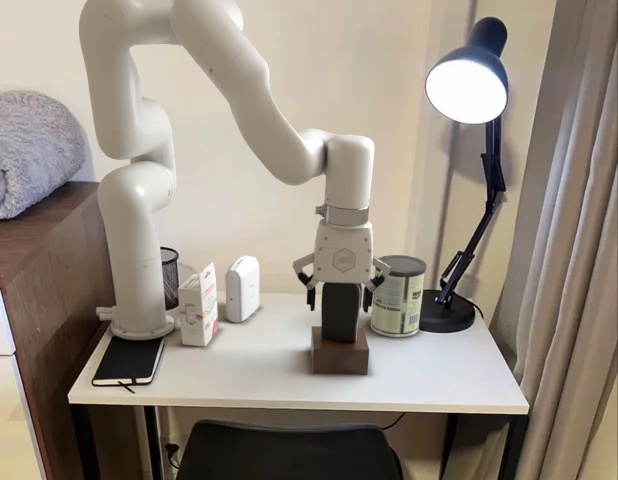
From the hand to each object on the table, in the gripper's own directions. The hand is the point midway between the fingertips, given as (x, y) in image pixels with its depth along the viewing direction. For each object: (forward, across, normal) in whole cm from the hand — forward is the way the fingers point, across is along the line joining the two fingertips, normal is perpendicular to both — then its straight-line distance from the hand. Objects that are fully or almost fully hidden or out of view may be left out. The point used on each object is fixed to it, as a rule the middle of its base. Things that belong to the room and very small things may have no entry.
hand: (338, 308), depth 120 cm
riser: (+11, +1, 0) cm, 11 cm away
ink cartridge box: (+11, -26, +10) cm, 30 cm away
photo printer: (+11, -18, +22) cm, 31 cm away
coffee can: (+11, +14, +16) cm, 23 cm away
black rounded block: (+6, +1, 0) cm, 6 cm away
